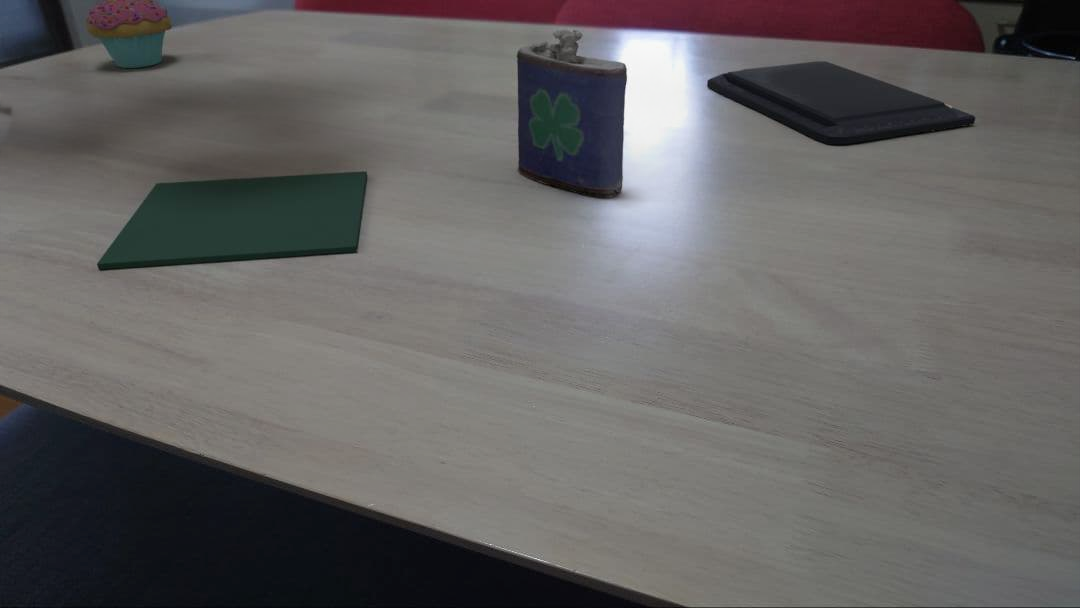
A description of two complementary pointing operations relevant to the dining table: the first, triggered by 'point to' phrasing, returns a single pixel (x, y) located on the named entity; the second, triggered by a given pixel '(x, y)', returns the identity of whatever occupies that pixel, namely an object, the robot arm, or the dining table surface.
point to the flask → (571, 117)
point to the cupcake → (130, 31)
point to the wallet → (836, 102)
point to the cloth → (242, 220)
